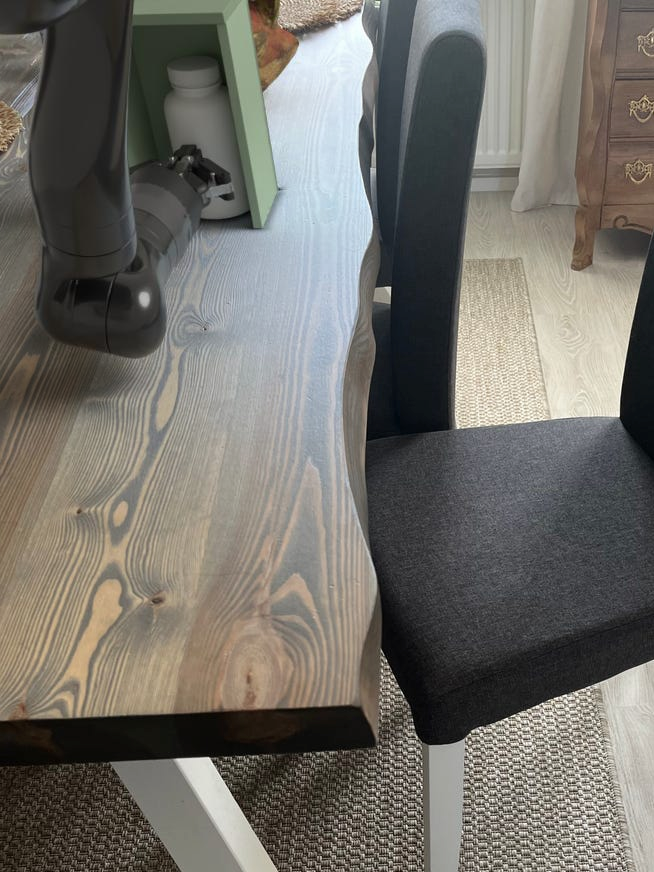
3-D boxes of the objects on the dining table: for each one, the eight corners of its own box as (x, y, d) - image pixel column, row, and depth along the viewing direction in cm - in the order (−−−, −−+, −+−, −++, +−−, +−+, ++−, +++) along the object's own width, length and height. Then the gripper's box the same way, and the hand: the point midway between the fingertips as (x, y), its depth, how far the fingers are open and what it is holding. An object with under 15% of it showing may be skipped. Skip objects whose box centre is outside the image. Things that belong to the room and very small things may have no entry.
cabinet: (261, 230, 111) (223, 12, 96) (136, 232, 111) (78, 15, 96) (279, 187, 119) (245, -19, 104) (162, 189, 120) (112, -16, 105)
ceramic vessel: (116, 97, 144) (60, -119, 127) (294, 75, 150) (264, -135, 132) (125, 136, 133) (65, -95, 115) (317, 111, 138) (289, -114, 120)
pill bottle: (212, 227, 112) (180, 79, 101) (172, 208, 116) (138, 63, 105) (270, 206, 116) (245, 61, 105) (230, 187, 120) (202, 46, 109)
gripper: (211, 182, 93) (245, 115, 105) (70, 185, 93) (121, 117, 105) (228, 261, 98) (259, 188, 110) (95, 263, 99) (140, 190, 111)
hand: (191, 153), depth 108 cm, fingers closed
